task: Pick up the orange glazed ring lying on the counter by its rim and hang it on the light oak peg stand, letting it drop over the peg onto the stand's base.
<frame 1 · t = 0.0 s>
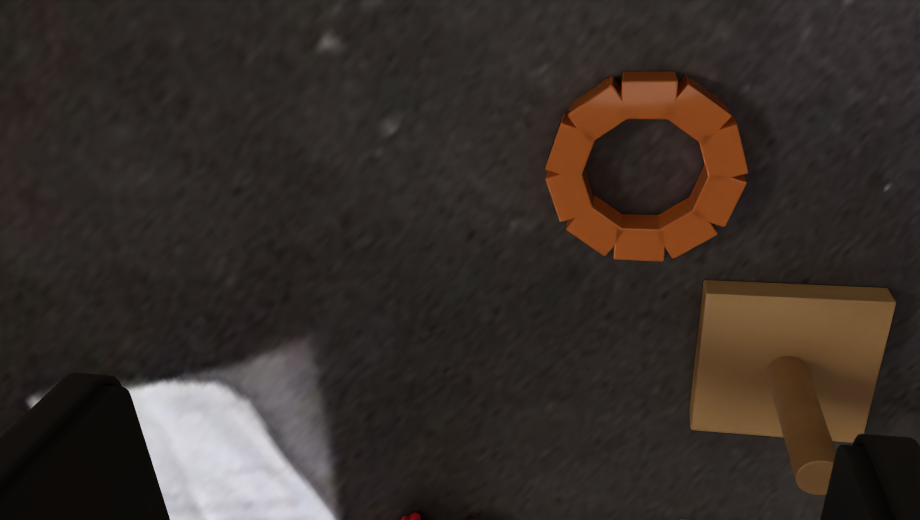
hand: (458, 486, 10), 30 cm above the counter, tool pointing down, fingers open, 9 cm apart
ring: (643, 162, 38), on the counter
stand: (781, 354, 42), on the counter
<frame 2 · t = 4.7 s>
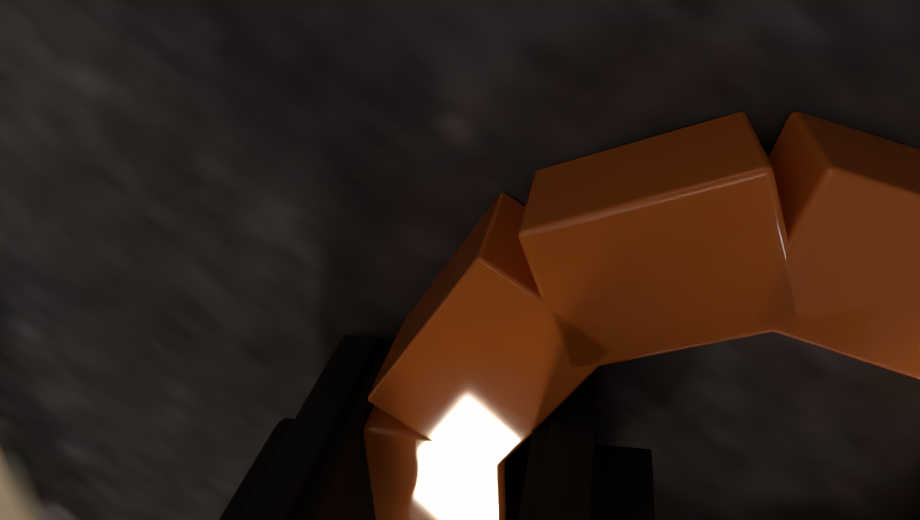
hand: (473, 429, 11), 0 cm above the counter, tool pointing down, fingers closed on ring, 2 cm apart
ring: (722, 441, 11), on the counter, touching gripper
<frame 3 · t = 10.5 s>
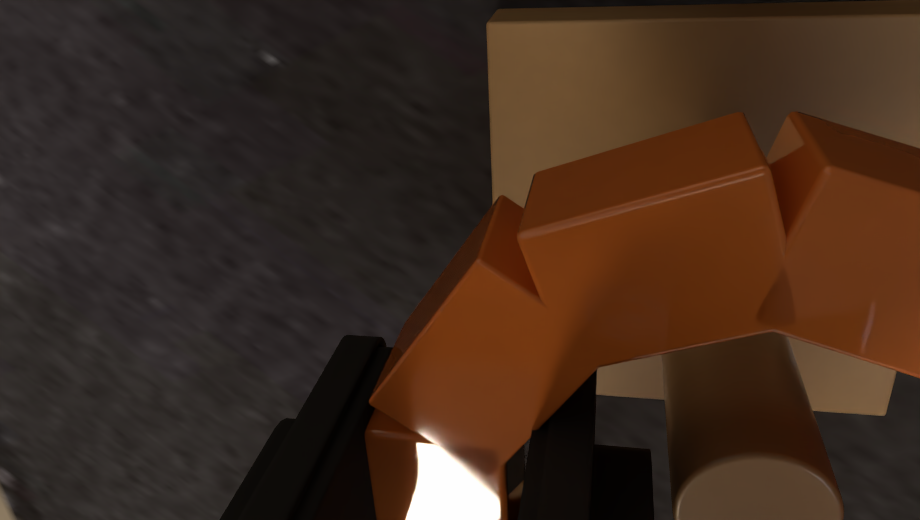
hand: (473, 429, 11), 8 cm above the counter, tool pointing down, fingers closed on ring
ring: (725, 441, 11), point 8 cm above the counter, touching gripper
stand: (695, 206, 18), on the counter
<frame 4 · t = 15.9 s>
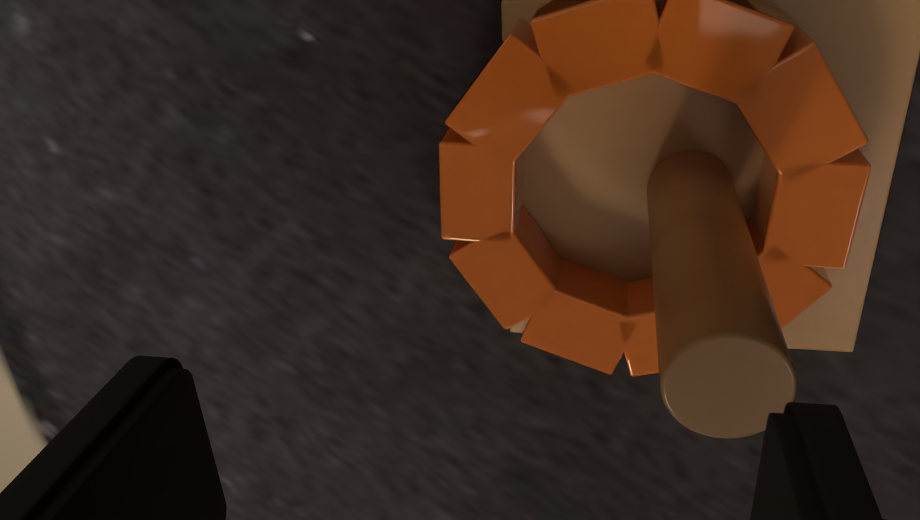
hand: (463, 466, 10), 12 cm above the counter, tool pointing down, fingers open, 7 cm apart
ring: (638, 176, 19), point 1 cm above the counter, touching stand
stand: (684, 166, 20), on the counter
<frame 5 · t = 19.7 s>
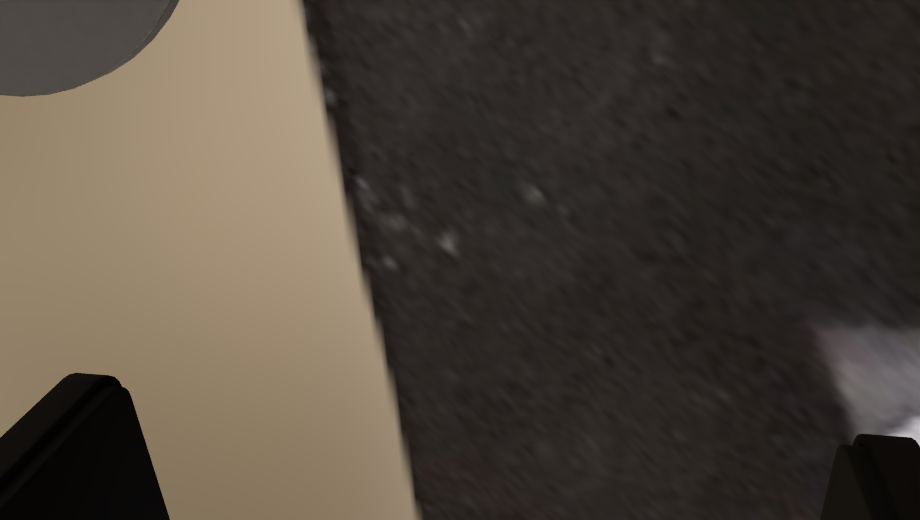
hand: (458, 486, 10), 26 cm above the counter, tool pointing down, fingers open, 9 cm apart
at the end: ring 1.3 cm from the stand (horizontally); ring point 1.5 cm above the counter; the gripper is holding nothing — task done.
